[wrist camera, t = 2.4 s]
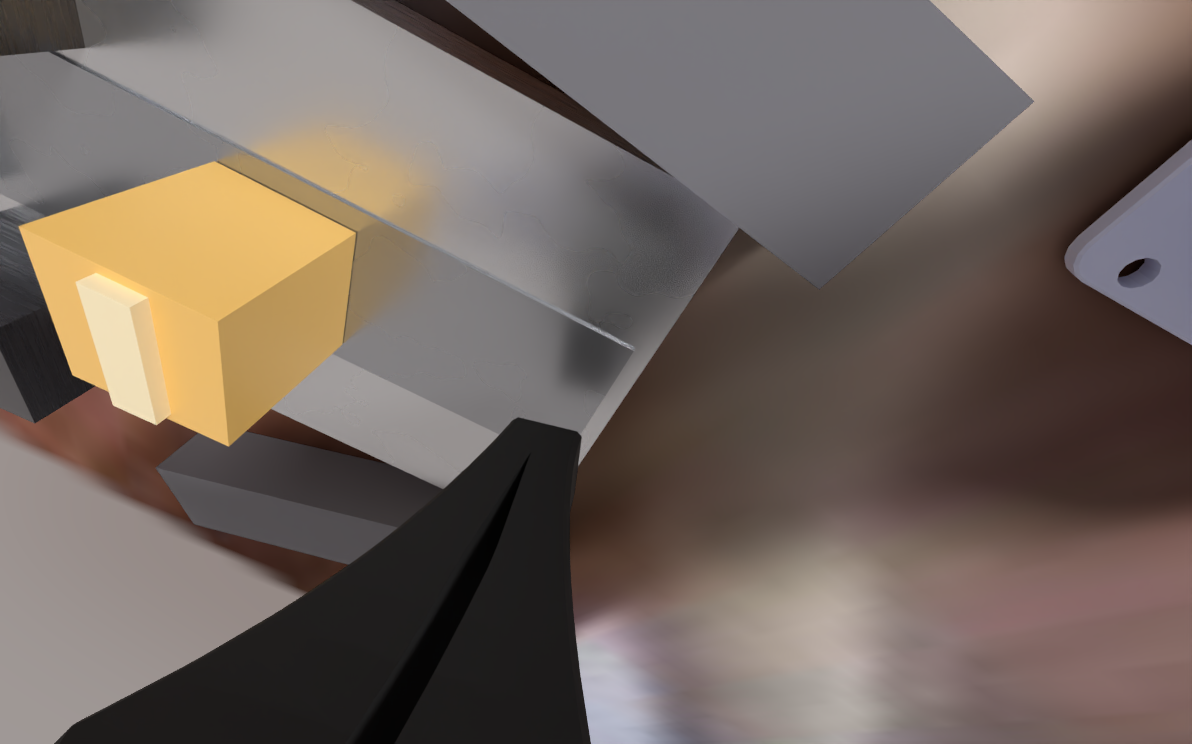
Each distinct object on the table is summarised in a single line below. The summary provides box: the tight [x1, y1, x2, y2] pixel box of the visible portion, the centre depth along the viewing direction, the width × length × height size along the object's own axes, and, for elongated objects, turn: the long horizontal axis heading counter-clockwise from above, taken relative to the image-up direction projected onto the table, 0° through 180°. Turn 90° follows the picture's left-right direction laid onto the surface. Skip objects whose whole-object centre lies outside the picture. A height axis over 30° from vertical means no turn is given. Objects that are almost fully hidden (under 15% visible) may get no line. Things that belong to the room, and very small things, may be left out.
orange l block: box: [18, 161, 356, 447], centre depth 10 cm, size 3×3×4 cm
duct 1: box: [156, 432, 443, 565], centre depth 17 cm, size 13×3×2 cm, turn 86°
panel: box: [0, 0, 739, 489], centre depth 11 cm, size 16×11×4 cm
